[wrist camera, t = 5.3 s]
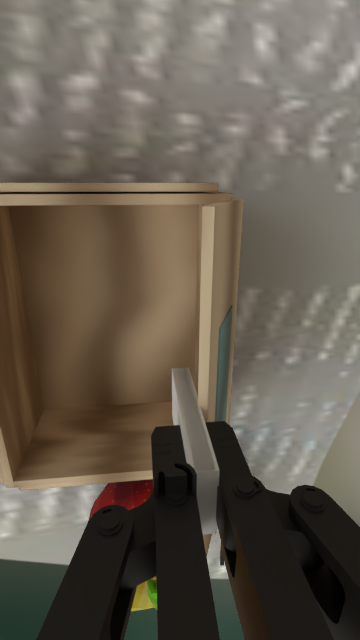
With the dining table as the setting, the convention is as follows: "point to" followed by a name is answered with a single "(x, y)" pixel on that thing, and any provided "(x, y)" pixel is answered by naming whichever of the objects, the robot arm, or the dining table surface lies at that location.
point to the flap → (218, 309)
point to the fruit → (129, 497)
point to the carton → (94, 324)
